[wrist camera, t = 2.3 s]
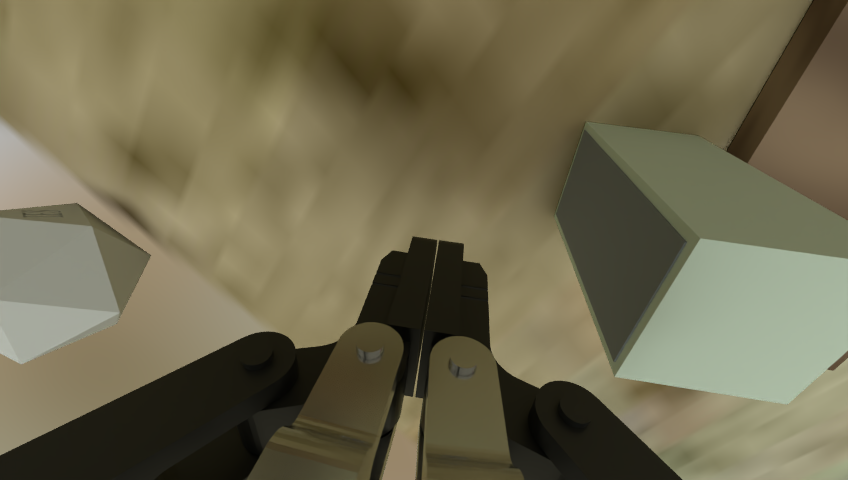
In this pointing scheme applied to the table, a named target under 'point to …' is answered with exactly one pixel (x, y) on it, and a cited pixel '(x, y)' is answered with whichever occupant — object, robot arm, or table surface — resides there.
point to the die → (61, 278)
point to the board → (805, 114)
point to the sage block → (703, 265)
